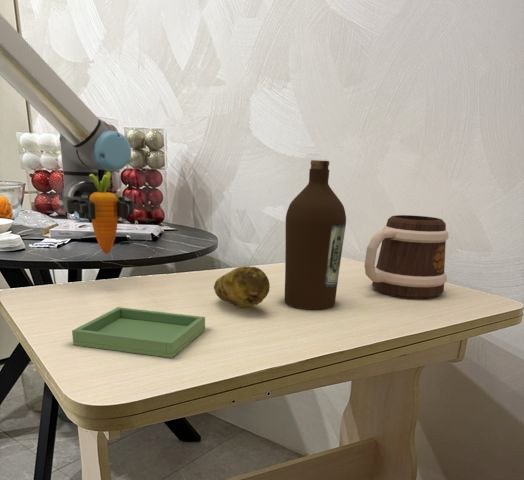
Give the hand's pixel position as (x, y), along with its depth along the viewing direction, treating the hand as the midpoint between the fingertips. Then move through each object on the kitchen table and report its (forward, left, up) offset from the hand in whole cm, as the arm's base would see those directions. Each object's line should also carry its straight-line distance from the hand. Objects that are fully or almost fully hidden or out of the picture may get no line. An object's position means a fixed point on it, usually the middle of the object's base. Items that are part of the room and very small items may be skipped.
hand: (109, 211), depth 92 cm
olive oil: (+36, +8, -15) cm, 40 cm away
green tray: (+16, -20, -15) cm, 30 cm away
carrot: (-3, +4, -9) cm, 10 cm away
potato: (+25, 0, -15) cm, 29 cm away
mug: (+52, +24, -15) cm, 59 cm away
